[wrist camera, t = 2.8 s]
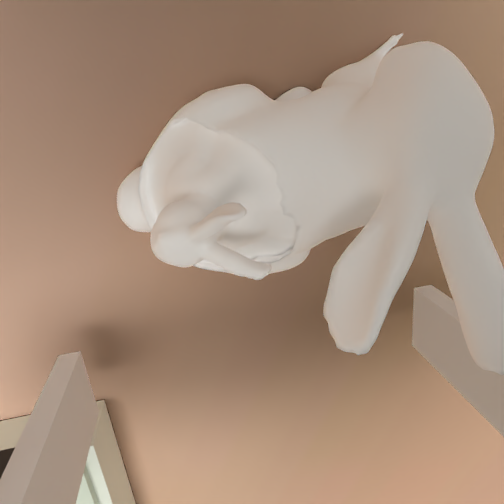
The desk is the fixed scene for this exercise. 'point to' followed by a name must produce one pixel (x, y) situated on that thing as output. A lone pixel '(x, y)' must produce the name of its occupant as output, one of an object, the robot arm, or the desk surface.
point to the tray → (88, 461)
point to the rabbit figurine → (334, 188)
